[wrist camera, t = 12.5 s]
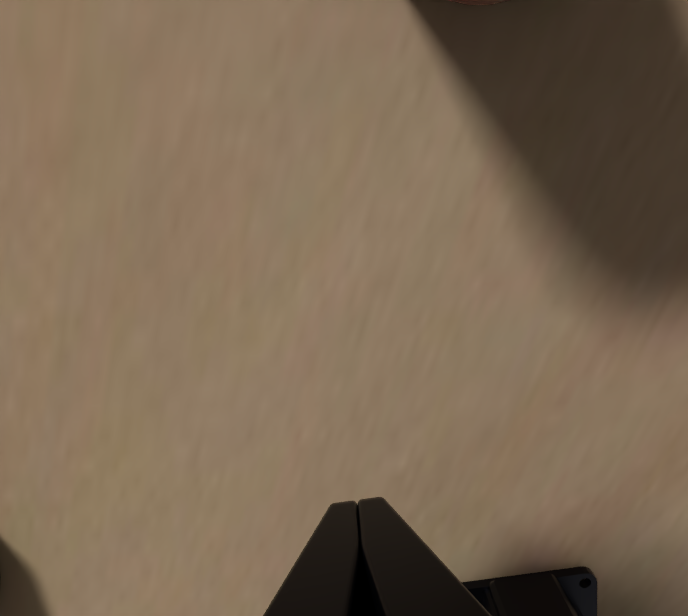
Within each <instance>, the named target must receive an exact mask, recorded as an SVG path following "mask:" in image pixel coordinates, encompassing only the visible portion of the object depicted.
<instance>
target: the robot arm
mask: <svg viewBox="0 0 688 616" xmlns="http://www.w3.org/2000/svg"><path fill="white" fill-rule="evenodd" d="M584 578H585V579H584ZM582 579H584V580H582ZM581 580H582V581H581ZM263 616H597V580H596V577H595V576H594V574H593V573H592V571H591V570H590V569H589V568H587V567H574V568H567V569H560V570H552V571H545V572H537V573H530V574H522V575H515V576H507V577H500V578H493V579H485V580H478V581H470V582H463V583H461V582H460V581H459V580H458V579H457V578H456V576H455V575H454V574H453V573H452V572H451V571H450V570H449V569H448V568H447V567H446V566H445V564H444V563H443V562H442V561H441V560H440V559H439V558H438V557H437V556H436V555H435V554H434V552H433V551H432V550H431V549H430V548H429V547H428V546H427V545H426V544H425V543H424V542H423V540H422V539H421V538H420V537H419V536H418V535H417V534H416V533H415V532H414V531H413V530H412V529H411V527H410V526H409V525H408V524H407V523H406V522H405V521H404V520H403V519H402V518H401V517H400V515H399V514H398V513H397V512H396V511H395V510H394V509H393V508H392V507H391V506H390V505H389V503H388V502H387V501H386V500H385V499H384V498H382V497H376V498H368V499H362V500H360V501H359V502H358V506H357V503H356V502H355V501H346V502H339V503H333V504H331V505H330V507H329V508H328V510H327V511H326V513H325V515H324V516H323V518H322V520H321V521H320V523H319V525H318V526H317V528H316V530H315V531H314V533H313V535H312V536H311V538H310V539H309V541H308V543H307V544H306V546H305V548H304V549H303V551H302V553H301V554H300V556H299V558H298V559H297V561H296V562H295V564H294V566H293V567H292V569H291V571H290V572H289V574H288V576H287V577H286V579H285V581H284V582H283V584H282V586H281V587H280V589H279V590H278V592H277V594H276V595H275V597H274V599H273V600H272V602H271V604H270V605H269V607H268V609H267V610H266V612H265V613H264V615H263Z"/></svg>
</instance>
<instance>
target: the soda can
mask: <svg viewBox="0 0 688 616" xmlns="http://www.w3.org/2000/svg"><path fill="white" fill-rule="evenodd" d="M447 1H452V2H457V3H461V4H466V5H492V4H496V3H500V2H504V1H509V0H447Z"/></svg>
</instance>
